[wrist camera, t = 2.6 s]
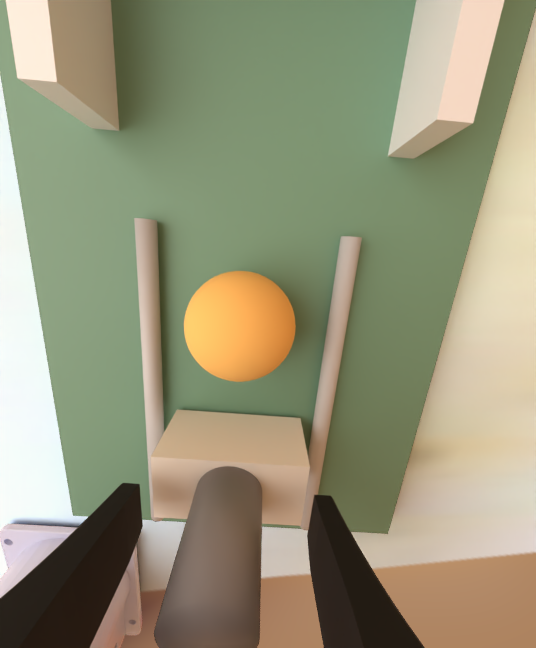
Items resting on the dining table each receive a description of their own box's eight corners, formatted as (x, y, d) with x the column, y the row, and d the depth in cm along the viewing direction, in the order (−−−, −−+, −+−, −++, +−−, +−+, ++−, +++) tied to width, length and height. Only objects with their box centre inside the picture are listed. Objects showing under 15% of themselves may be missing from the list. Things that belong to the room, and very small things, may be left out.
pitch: (380, 516, 16) (394, 548, 15) (84, 499, 16) (62, 530, 14) (532, -55, 9) (594, -126, 7) (-5, -118, 9) (-74, -209, 7)
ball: (285, 358, 12) (294, 409, 8) (199, 351, 12) (168, 400, 8) (295, 270, 11) (309, 283, 7) (200, 262, 11) (164, 271, 7)
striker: (293, 467, 14) (319, 677, 7) (177, 459, 14) (90, 668, 7) (300, 418, 13) (336, 602, 6) (176, 409, 13) (76, 589, 6)
